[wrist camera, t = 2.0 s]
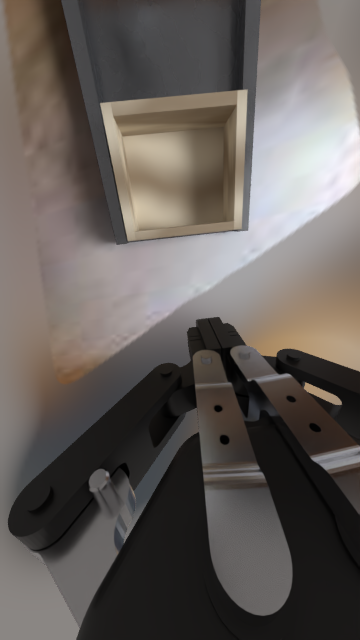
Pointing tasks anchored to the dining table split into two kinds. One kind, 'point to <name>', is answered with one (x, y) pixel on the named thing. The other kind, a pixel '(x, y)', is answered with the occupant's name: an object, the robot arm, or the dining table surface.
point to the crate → (178, 162)
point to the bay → (162, 65)
